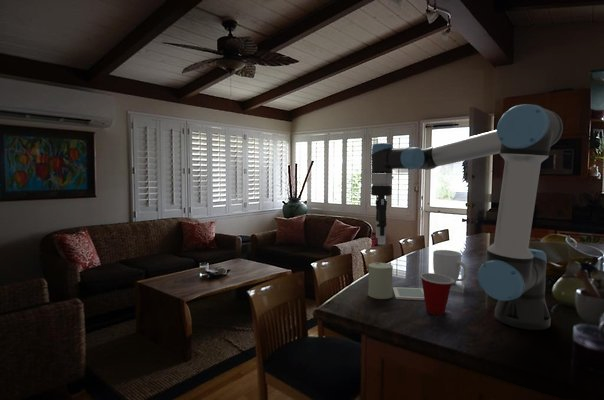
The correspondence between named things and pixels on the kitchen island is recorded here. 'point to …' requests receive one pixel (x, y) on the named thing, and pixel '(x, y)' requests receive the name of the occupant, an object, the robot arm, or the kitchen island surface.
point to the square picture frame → (409, 293)
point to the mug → (448, 264)
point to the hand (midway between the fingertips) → (380, 241)
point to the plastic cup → (436, 292)
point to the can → (380, 280)
